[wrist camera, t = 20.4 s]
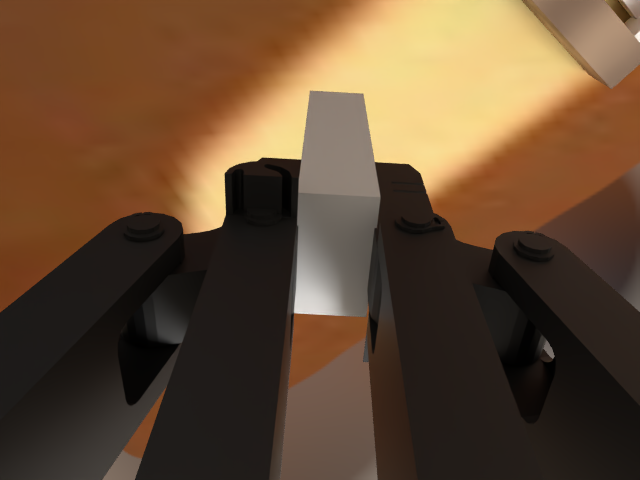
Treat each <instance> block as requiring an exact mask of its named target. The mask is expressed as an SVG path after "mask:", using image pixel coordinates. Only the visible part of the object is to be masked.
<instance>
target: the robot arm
mask: <svg viewBox="0 0 640 480" xmlns="http://www.w3.org/2000/svg"><path fill="white" fill-rule="evenodd" d="M423 184H424V183H423V180H422V177H421V174H420V173H419V172H418V171H417V170H415V169H414V168H413V167H412V166H410V165H409V164H396V163H378V162H375V161H374V155H373V149H372V143H371V137H370V131H369V125H368V119H367V113H366V107H365V101H364V95H363V94H358V93H341V92H323V91H310V95H309V103H308V111H307V119H306V127H305V135H304V143H303V151H302V159H301V160H296V159H278V158H261V159H260V160H258V161H255V162H247V163H241V164H238V165H236V166H233V167H231V168H229V169H228V170H227V172H226V173H225V197H226V217H225V219H224V222H223V225H222V227H220V228H217V229H214V230H211V231H205V232H200V233H191V234H183V228H182V224H181V222H180V221H178V220H177V219H176V218H174V217H172V216H168V215H165V214H159V213H152V212H144V213H135V214H133V215H130V216H127V217H123V218H120V219H119V220H117V221H115V222H113V223H112V224H110V225H109V226H107V227H106V228H105V229H104V230H103V231H101V232H100V233H99V234H98V235H96V236H95V237H94V238H93V239H91V240H90V241H89V242H88V243H86V244H85V245H84V246H83V247H81V248H80V249H79V250H78V251H76V252H75V253H74V254H73V255H71V256H70V257H69V258H68V259H66V260H65V261H64V262H63V263H62V264H60V265H59V266H58V267H57V268H55V269H54V270H53V271H52V272H50V273H49V274H48V275H47V276H45V277H44V278H43V279H42V280H40V281H39V282H38V283H37V284H35V285H34V286H33V287H32V288H30V289H29V290H28V291H27V292H25V293H24V294H23V295H22V296H20V297H19V298H18V299H17V300H16V301H14V302H13V303H12V304H11V305H9V306H8V307H7V308H6V309H4V310H3V311H2V312H1V313H0V480H102V479H103V478H104V476H105V475H106V473H107V472H108V470H109V469H110V467H111V466H112V465H113V463H114V462H115V460H116V458H117V457H118V456H119V454H120V453H121V452H122V450H123V449H124V447H125V446H126V444H127V443H128V441H129V440H130V438H131V437H132V436H133V434H134V433H135V431H136V430H137V428H138V427H139V425H140V424H141V423H142V421H143V420H144V418H145V417H146V415H147V414H148V412H149V411H150V409H151V408H152V407H153V405H154V404H155V402H156V401H157V399H158V398H159V396H160V395H161V394H162V392H163V391H164V389H165V388H166V386H167V388H166V391H165V394H164V397H163V400H162V402H161V405H160V408H159V411H158V414H157V417H156V420H155V423H154V426H153V429H152V431H151V434H150V437H149V440H148V443H147V446H146V449H145V452H144V455H143V458H142V461H141V464H140V466H139V469H138V472H137V475H136V478H135V480H280V474H281V463H282V451H283V440H284V429H285V416H286V406H287V395H288V384H289V373H290V362H291V351H292V339H293V327H294V313H302V314H321V315H339V316H358V317H366V314H367V306H368V304H369V317H368V325H367V333H366V341H365V350H364V358H363V362H369V370H370V384H371V397H372V410H373V424H374V437H375V449H376V463H377V475H378V480H640V312H639V311H638V310H637V309H635V308H634V307H633V306H632V305H631V304H630V303H629V302H628V301H626V300H625V299H624V298H623V297H622V296H621V295H620V294H619V293H618V292H616V291H615V290H614V289H613V288H612V287H611V286H610V285H609V284H607V283H606V282H605V281H604V280H603V279H602V278H601V277H600V276H598V275H597V274H596V273H595V272H594V271H593V270H592V269H590V268H589V267H588V266H587V265H586V264H585V263H584V262H583V261H581V260H580V259H579V258H578V257H577V256H576V255H575V254H574V253H572V252H571V251H570V250H569V249H568V248H567V247H565V246H564V245H562V244H561V243H559V242H558V241H556V240H554V239H551V238H549V237H547V236H545V235H543V234H541V233H537V232H536V233H534V232H532V231H512V232H507V233H503V234H501V235H500V236H498V237H497V238H496V240H495V245H494V249H493V250H490V249H486V248H482V247H477V246H473V245H469V244H466V243H463V242H460V241H458V240H456V239H455V236H454V234H453V231H452V228H451V226H450V225H449V223H448V222H447V221H446V220H445V219H444V218H442V217H440V216H439V215H437V214H435V213H433V210H432V207H431V204H430V201H429V198H428V195H427V194H426V189H425V186H424V185H423ZM546 340H547V341H548V342H549V344H550V346H551V347H552V349H553V352H554V355H555V357H554V358H553V359H552V358H551V357H550V356H549V355H548V354H547V353H546V351H545V350H544V349H543V348H544V345H545V342H546Z"/></svg>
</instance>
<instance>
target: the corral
mask: <svg viewBox="0 0 640 480" xmlns="http://www.w3.org/2000/svg"><path fill="white" fill-rule="evenodd" d="M618 1H619V2H620V3H621V4H622V6H623V7H624V8H625V10H626V11H627V12H628V13H629V15H630V16H631V18H629V19H628V20H627V21H626V22H625V23H624V24H625V25H626V27H627V28H628V29H629V30H630V31H631V33H632V34H633V35H634V36H635V37H636V39H637V40H638V41H639V42H640V0H618Z"/></svg>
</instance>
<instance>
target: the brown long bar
mask: <svg viewBox="0 0 640 480" xmlns="http://www.w3.org/2000/svg"><path fill="white" fill-rule="evenodd" d="M522 1H523V2H524V3H525V4H526V5H527V7H528V8H529V9H530V10H531V11H532V12H533V13H534V14H535V15H536V17H537V18H538V19H539V20H540V21H541V22H542V23H543V24H544V25H545V26H546V28H547V29H548V30H549V31H550V32H551V33H552V34H553V35H554V36H555V38H556V39H557V40H558V41H559V42H560V43H561V44H562V45H563V46H564V48H565V49H566V50H567V51H568V52H569V53H570V54H571V55H572V56H573V58H574V59H575V60H576V61H577V62H578V63H579V64H580V65H581V66H582V68H583V69H584V70H585V71H586V72H587V73H588V74H589V75H590V76H592V77H593V78H595V79H596V80H598V81H600V82H601V83H603V84H604V85H606V86H607V87H609V88H610V89H612V88H613V87H614V86H615V85H617V84H618V83H619V82H620V81H621V80H622V79H623V78H625V77H626V76H627V75H628V74H629V73H630V72H631V71H633V70H634V69H635V68H636V67H637V66H638V65H639V64H640V42H639V41H638V40H637V39H636V37H635V36H634V35H633V34H632V33H631V31H630V30H629V29H628V28H627V27H626V25H625V24H624V23H623V22H622V21H621V19H620V18H619V17H618V16H617V15H616V13H615V12H614V11H613V10H612V9H611V7H610V6H609V5H608V4H607V3H606V1H605V0H522Z"/></svg>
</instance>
